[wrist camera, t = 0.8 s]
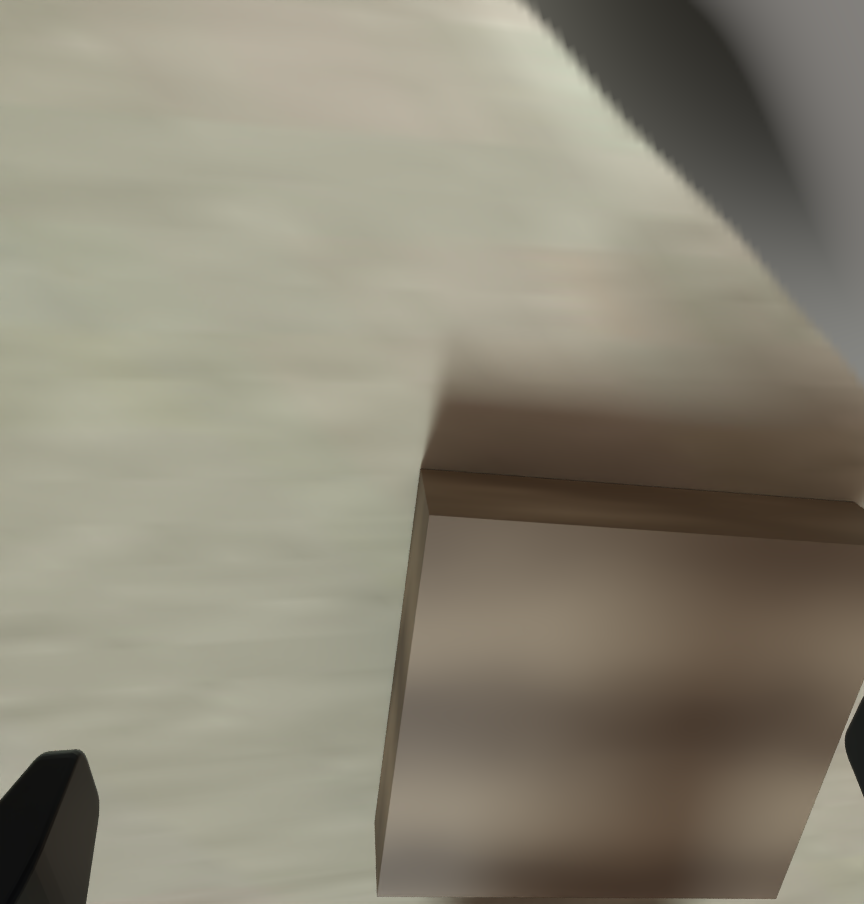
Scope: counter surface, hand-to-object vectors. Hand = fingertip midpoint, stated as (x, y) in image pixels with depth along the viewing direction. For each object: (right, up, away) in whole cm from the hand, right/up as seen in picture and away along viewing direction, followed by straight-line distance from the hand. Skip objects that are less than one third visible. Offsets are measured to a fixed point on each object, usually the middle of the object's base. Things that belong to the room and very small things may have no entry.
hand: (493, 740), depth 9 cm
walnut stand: (+5, -4, +18) cm, 19 cm away
